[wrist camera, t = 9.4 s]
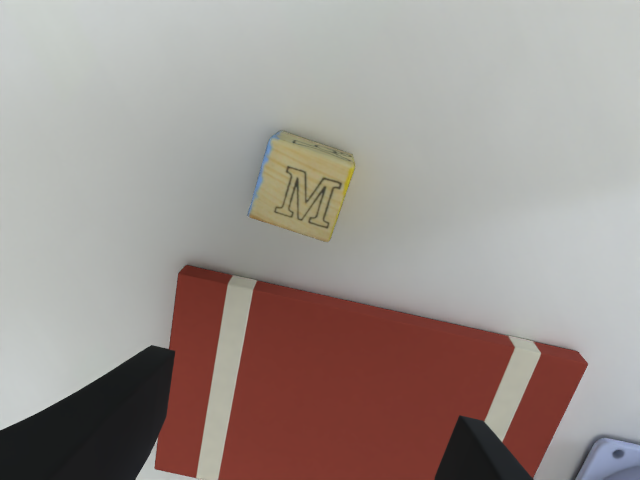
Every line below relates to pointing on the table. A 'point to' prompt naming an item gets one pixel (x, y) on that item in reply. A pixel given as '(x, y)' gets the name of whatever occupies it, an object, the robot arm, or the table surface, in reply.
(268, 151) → the alphabet block
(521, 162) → the table surface
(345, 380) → the towel
